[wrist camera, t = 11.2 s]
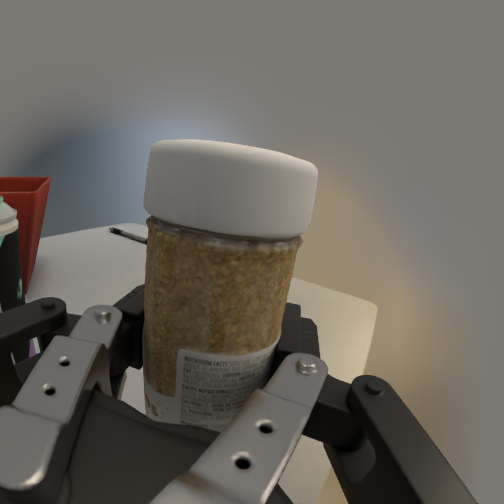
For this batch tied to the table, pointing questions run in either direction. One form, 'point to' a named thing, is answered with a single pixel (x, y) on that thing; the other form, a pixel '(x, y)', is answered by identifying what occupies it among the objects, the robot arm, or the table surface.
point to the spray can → (12, 274)
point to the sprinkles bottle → (217, 273)
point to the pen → (129, 235)
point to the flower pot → (27, 215)
